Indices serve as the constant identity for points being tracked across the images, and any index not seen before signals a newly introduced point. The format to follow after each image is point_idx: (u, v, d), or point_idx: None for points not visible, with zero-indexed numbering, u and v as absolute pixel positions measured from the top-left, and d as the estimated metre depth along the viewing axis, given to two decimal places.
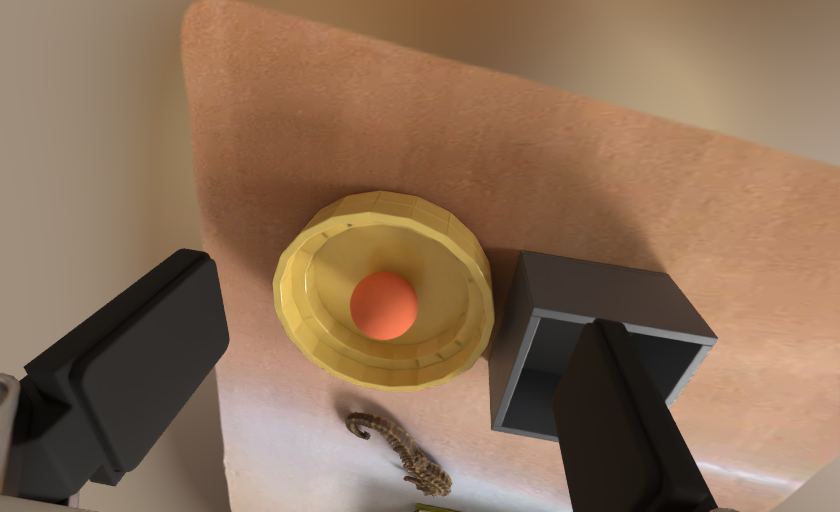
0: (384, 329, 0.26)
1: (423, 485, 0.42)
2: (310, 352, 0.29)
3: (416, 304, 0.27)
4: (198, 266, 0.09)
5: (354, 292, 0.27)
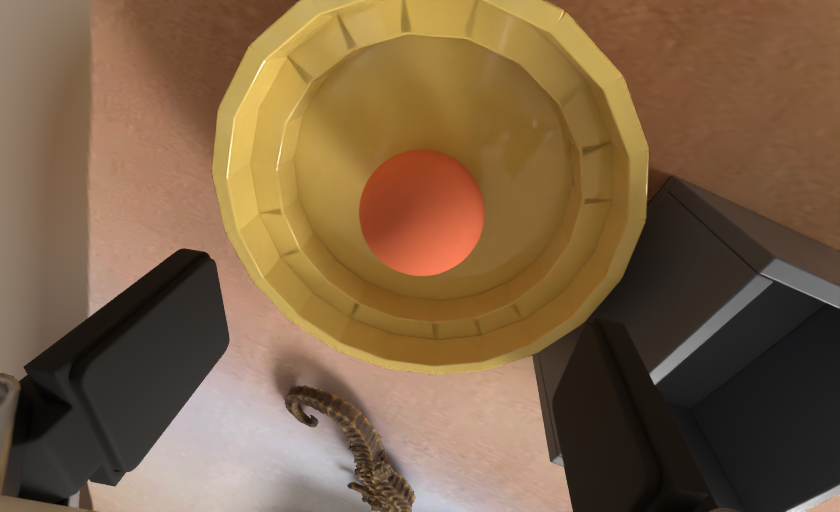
0: (425, 250, 0.13)
1: (373, 498, 0.30)
2: (262, 273, 0.16)
3: (483, 223, 0.15)
4: (198, 266, 0.09)
5: (378, 172, 0.14)
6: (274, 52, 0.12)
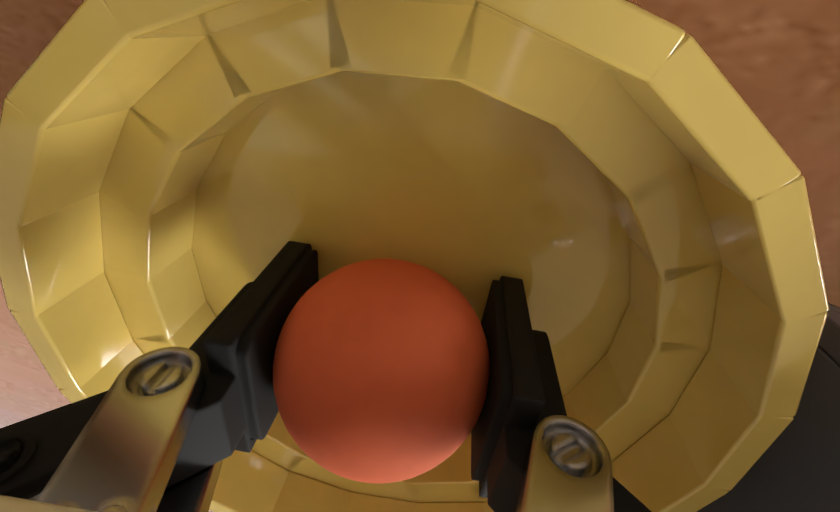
0: (381, 470, 0.07)
1: None
2: None
3: None
4: (308, 256, 0.10)
5: (300, 312, 0.08)
6: (58, 113, 0.06)
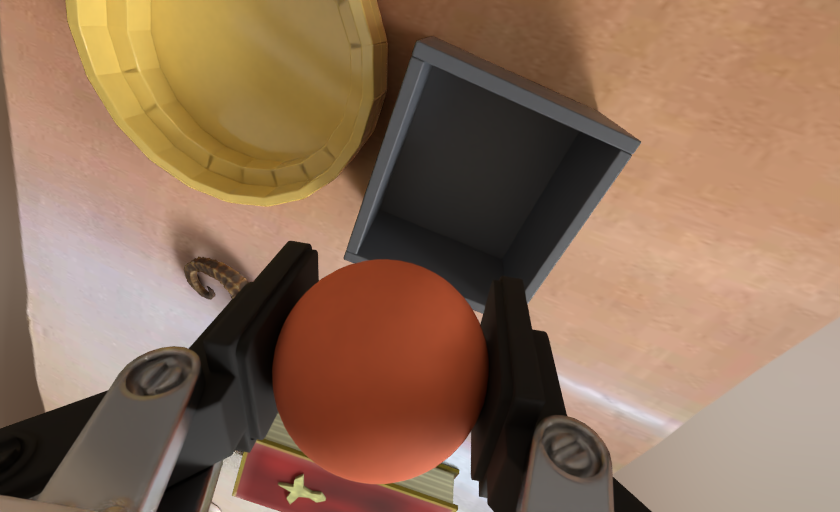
0: (380, 471, 0.07)
1: None
2: (121, 115, 0.21)
3: None
4: (308, 256, 0.10)
5: (300, 313, 0.08)
6: None
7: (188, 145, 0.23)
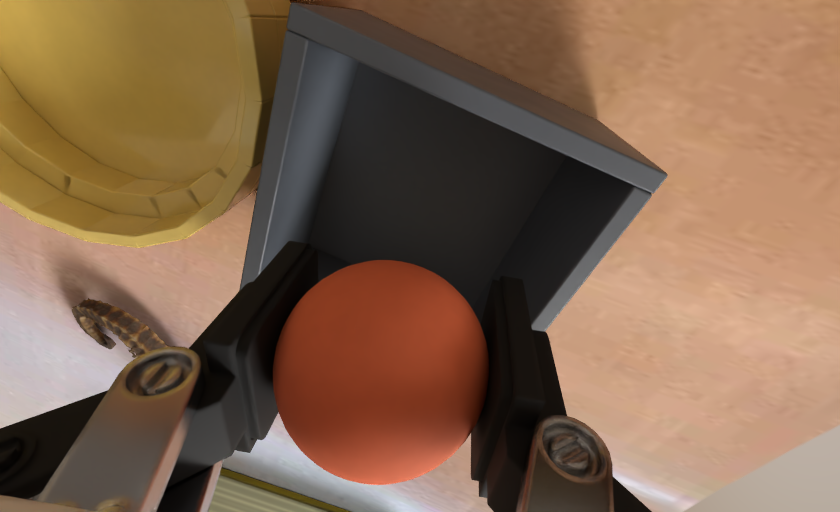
0: (381, 471, 0.07)
1: None
2: None
3: None
4: (308, 257, 0.10)
5: (300, 313, 0.08)
6: None
7: (34, 161, 0.17)
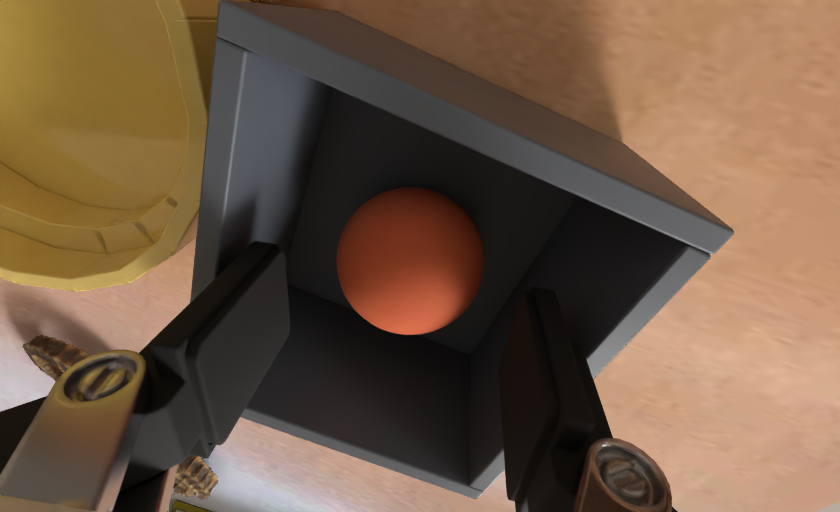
0: (413, 312, 0.11)
1: None
2: None
3: (482, 273, 0.13)
4: (273, 257, 0.09)
5: (358, 216, 0.12)
6: None
7: None
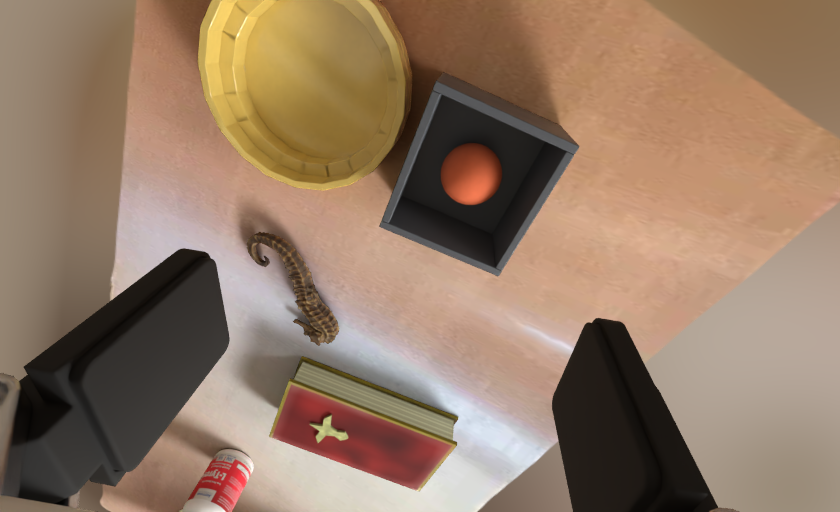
0: (475, 188, 0.29)
1: (311, 330, 0.44)
2: (224, 124, 0.30)
3: (501, 178, 0.30)
4: (198, 266, 0.09)
5: (452, 153, 0.30)
6: None
7: (265, 146, 0.32)
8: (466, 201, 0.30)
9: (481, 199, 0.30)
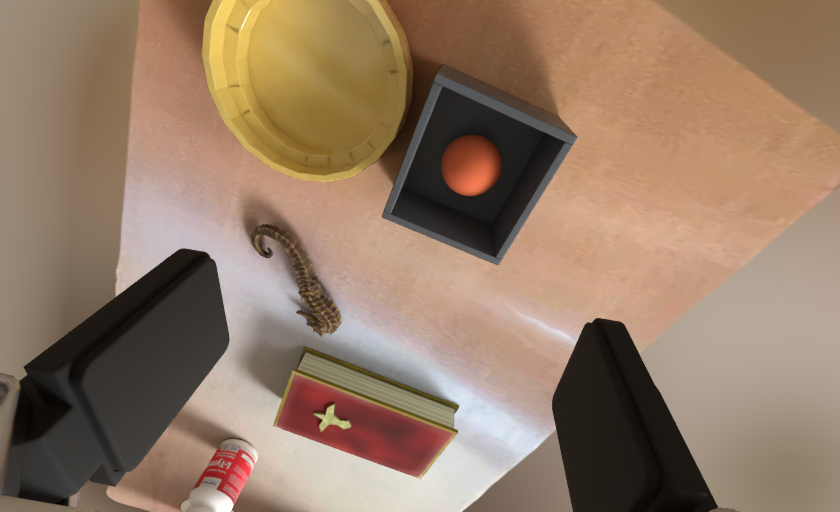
0: (475, 179, 0.29)
1: (313, 320, 0.44)
2: (228, 117, 0.31)
3: (500, 170, 0.31)
4: (198, 266, 0.09)
5: (453, 144, 0.30)
6: None
7: (269, 138, 0.33)
8: (466, 192, 0.31)
9: (481, 190, 0.30)
